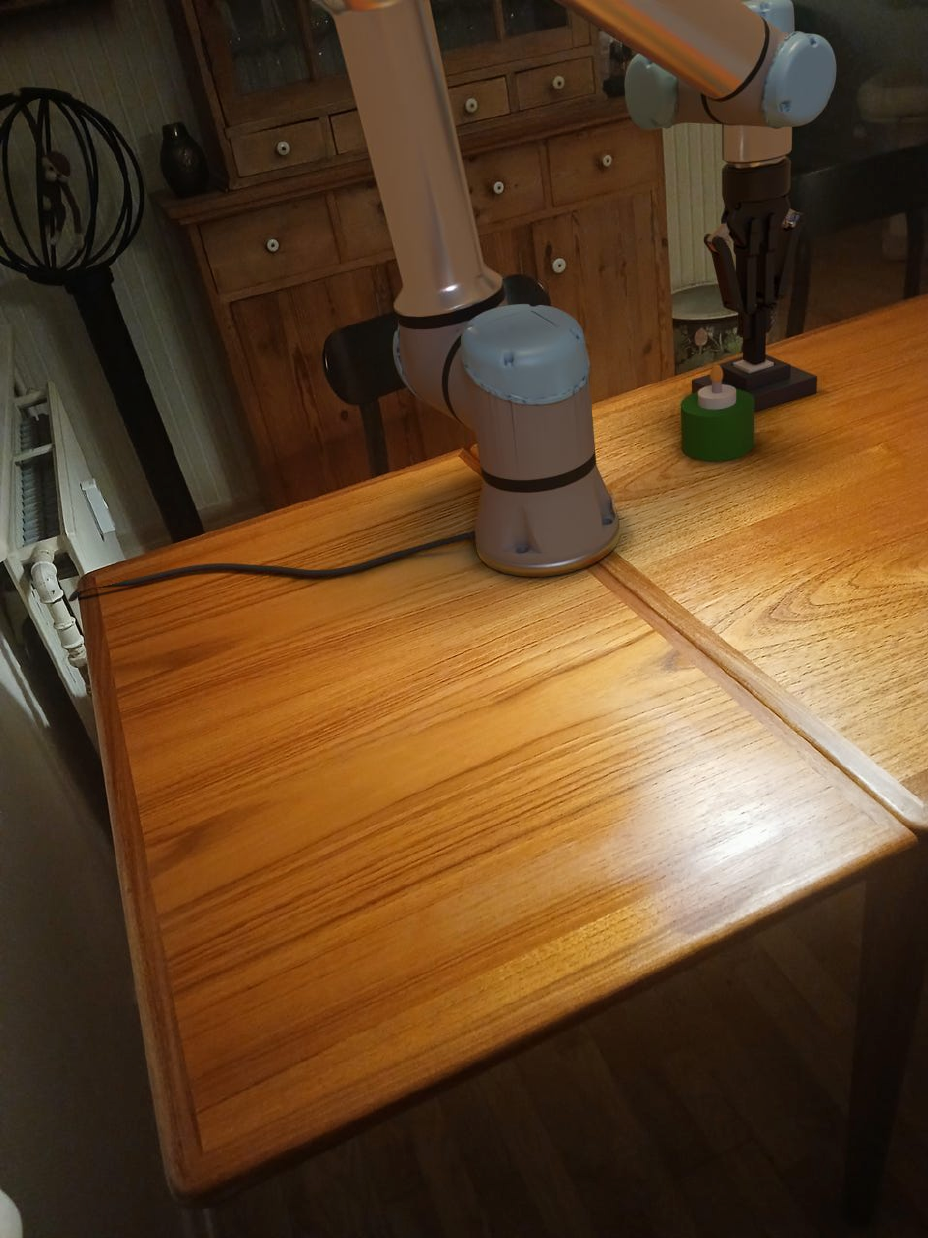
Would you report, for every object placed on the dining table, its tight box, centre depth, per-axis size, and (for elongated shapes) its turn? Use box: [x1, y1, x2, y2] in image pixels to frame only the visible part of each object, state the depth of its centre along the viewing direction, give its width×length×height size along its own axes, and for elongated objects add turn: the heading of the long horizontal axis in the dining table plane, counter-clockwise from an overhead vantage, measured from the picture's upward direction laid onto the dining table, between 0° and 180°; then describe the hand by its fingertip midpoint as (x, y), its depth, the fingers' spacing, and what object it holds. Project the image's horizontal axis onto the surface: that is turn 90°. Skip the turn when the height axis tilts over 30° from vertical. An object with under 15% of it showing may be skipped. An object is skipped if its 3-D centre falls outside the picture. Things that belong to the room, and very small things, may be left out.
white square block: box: [733, 360, 774, 373], centre depth 122 cm, size 4×4×2 cm
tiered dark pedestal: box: [691, 354, 818, 413], centre depth 122 cm, size 12×10×4 cm
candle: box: [680, 363, 755, 462], centre depth 110 cm, size 8×8×10 cm
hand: (754, 360), depth 121 cm, fingers closed
